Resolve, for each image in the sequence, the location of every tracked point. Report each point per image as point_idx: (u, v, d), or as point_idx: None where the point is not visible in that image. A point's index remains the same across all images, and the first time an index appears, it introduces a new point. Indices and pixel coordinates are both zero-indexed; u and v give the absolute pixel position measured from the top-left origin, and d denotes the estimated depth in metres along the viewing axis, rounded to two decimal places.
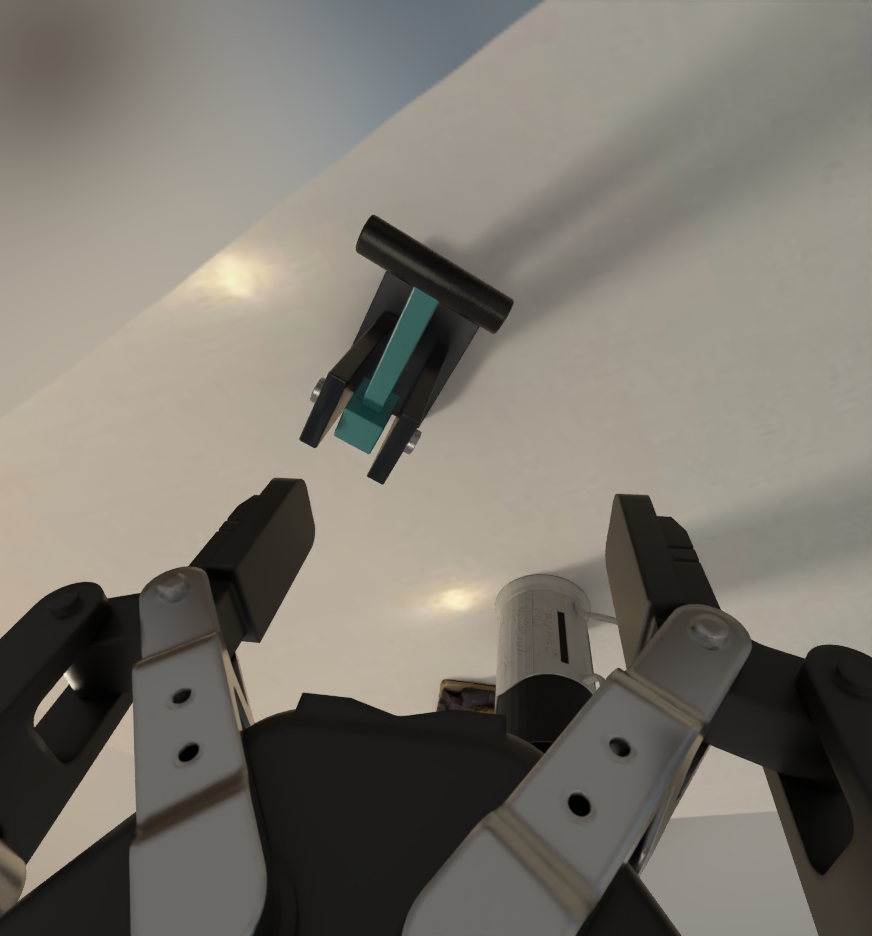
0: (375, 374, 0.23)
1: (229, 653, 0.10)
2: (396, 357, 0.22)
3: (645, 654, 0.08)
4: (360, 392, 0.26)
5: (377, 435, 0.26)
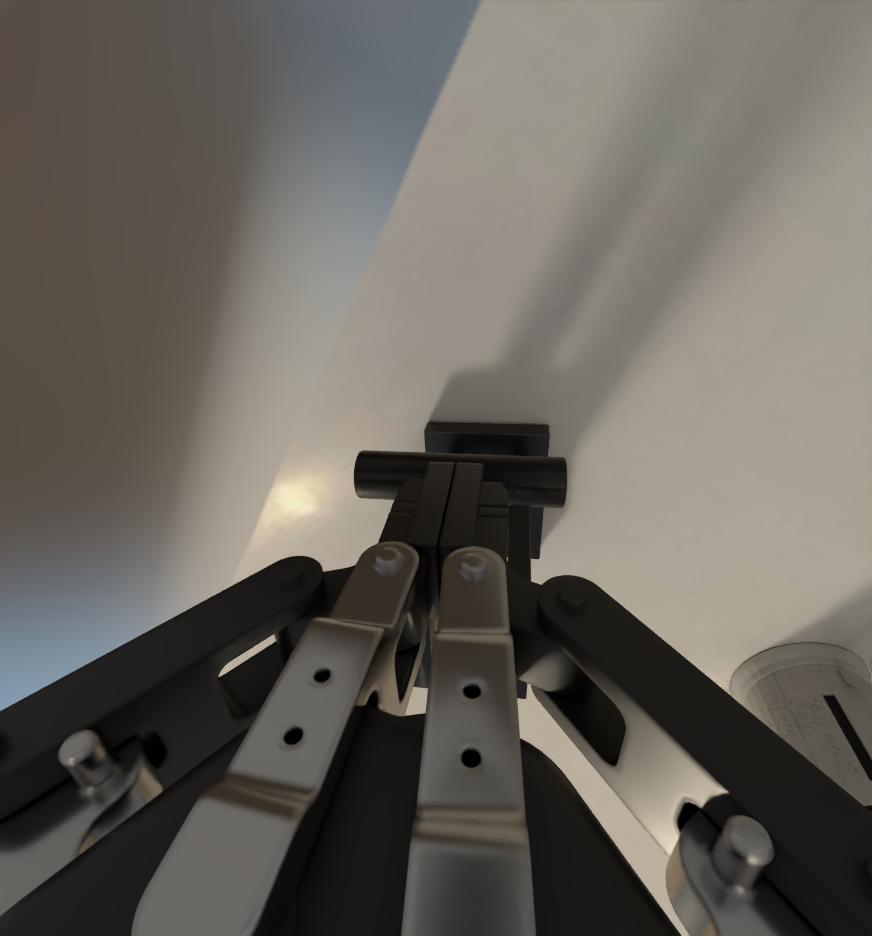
0: None
1: (425, 627, 0.11)
2: None
3: (443, 609, 0.09)
4: None
5: None
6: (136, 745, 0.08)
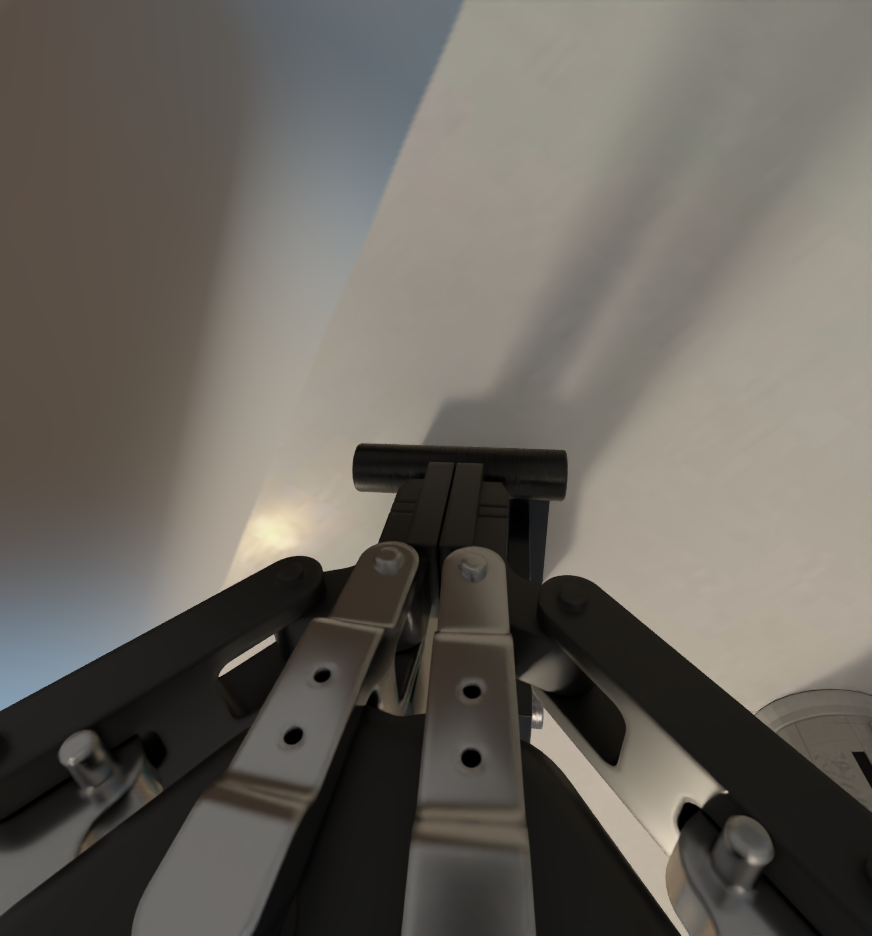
0: None
1: (425, 627, 0.11)
2: None
3: (443, 609, 0.09)
4: None
5: None
6: (136, 745, 0.08)
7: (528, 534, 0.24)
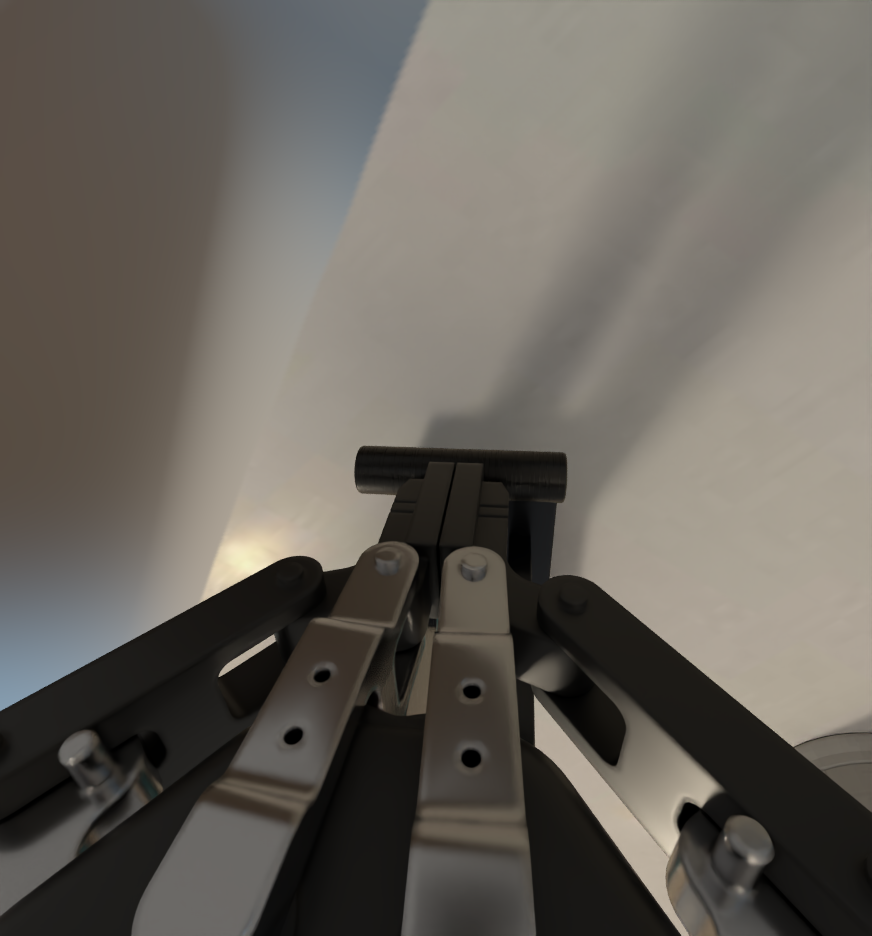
0: None
1: (425, 627, 0.11)
2: None
3: (443, 609, 0.09)
4: None
5: None
6: (136, 745, 0.08)
7: (530, 570, 0.21)
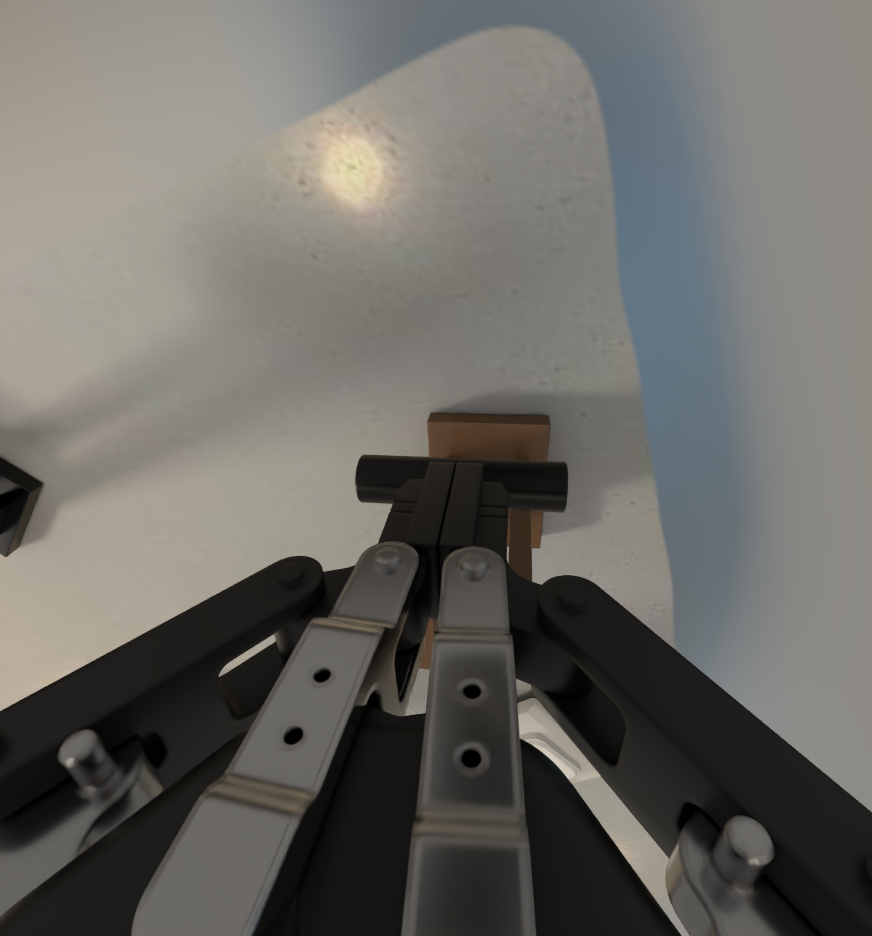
0: None
1: (425, 627, 0.11)
2: None
3: (443, 609, 0.09)
4: None
5: None
6: (136, 745, 0.08)
7: None
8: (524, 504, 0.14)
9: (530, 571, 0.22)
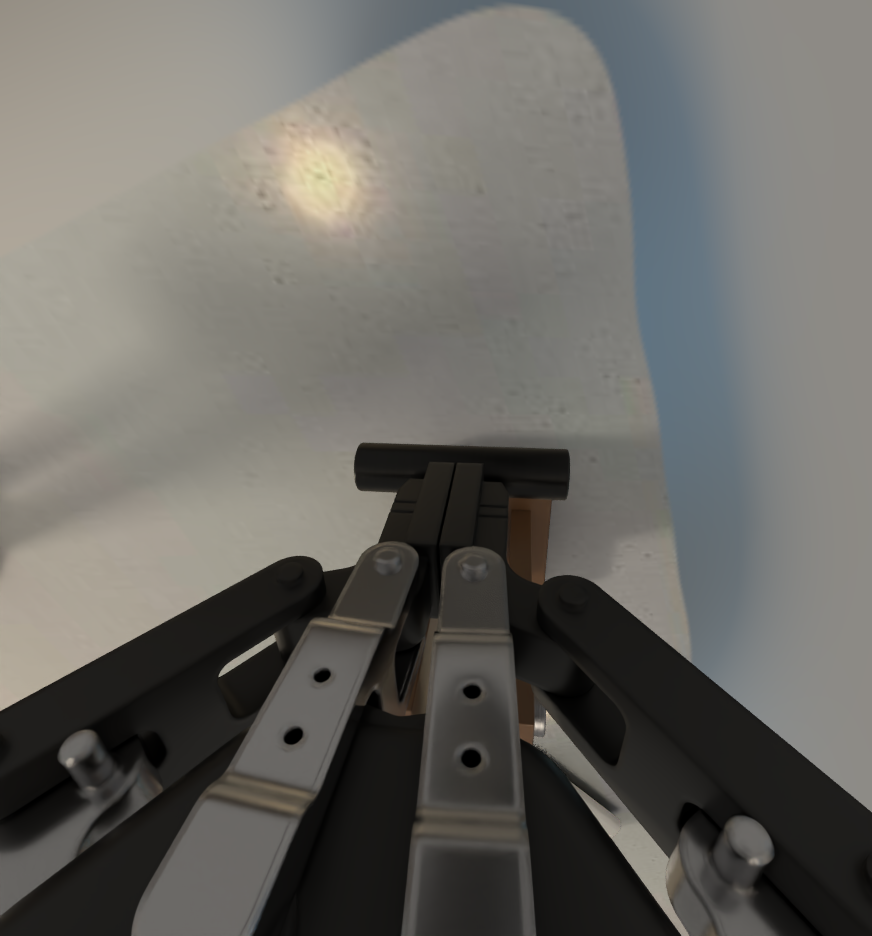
0: None
1: (425, 627, 0.11)
2: None
3: (443, 609, 0.09)
4: None
5: None
6: (136, 745, 0.08)
7: None
8: (526, 482, 0.14)
9: None
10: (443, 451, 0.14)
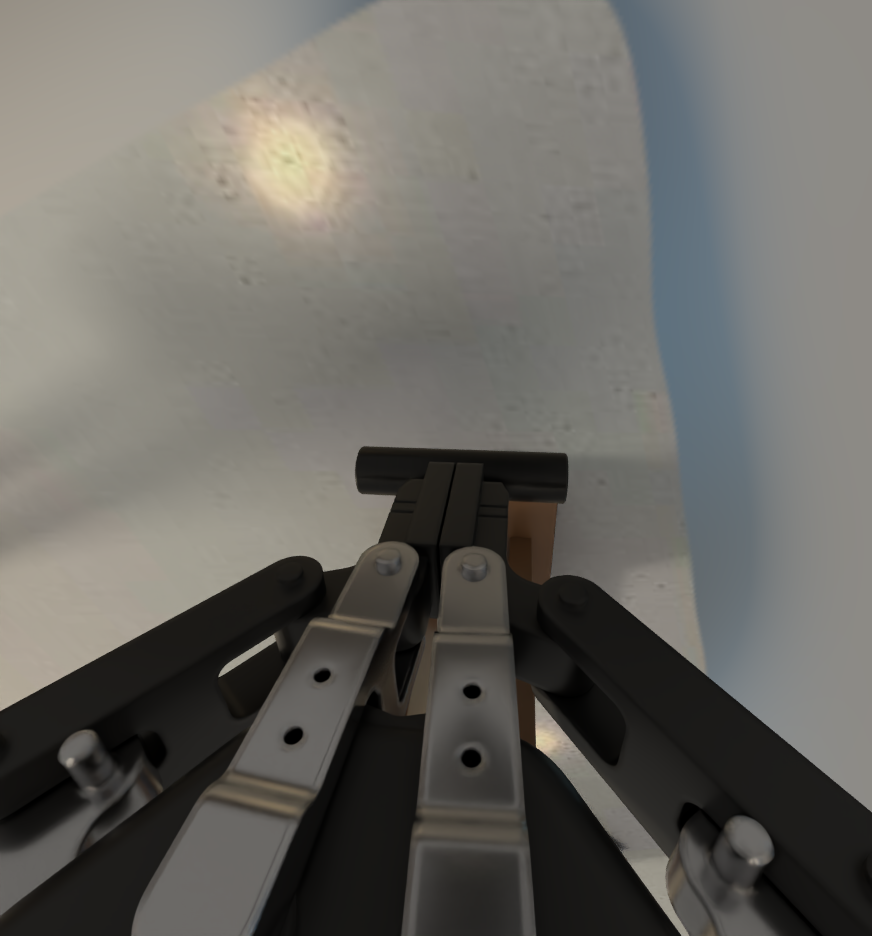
0: None
1: (425, 627, 0.11)
2: None
3: (443, 609, 0.09)
4: None
5: None
6: (136, 745, 0.08)
7: None
8: (525, 478, 0.14)
9: (533, 740, 0.15)
10: (444, 451, 0.15)
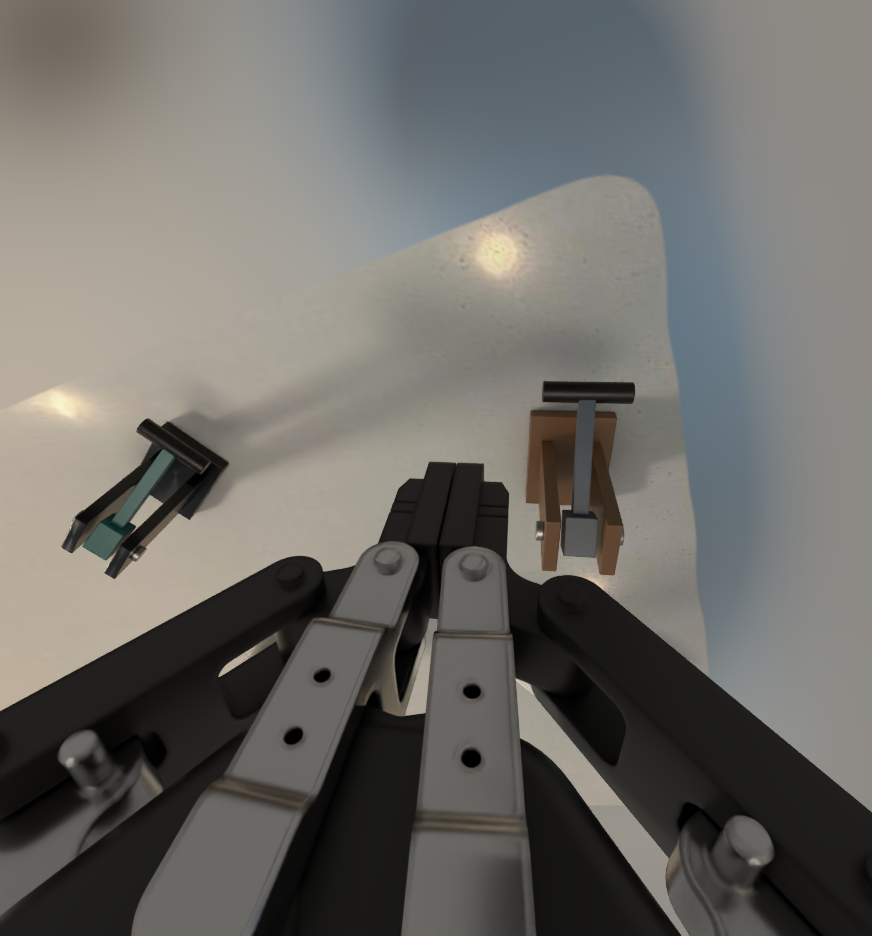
0: (127, 499, 0.43)
1: (425, 627, 0.11)
2: (143, 488, 0.43)
3: (443, 609, 0.09)
4: (110, 517, 0.43)
5: (117, 541, 0.43)
6: (136, 745, 0.08)
7: (192, 489, 0.50)
8: (617, 391, 0.34)
9: (617, 507, 0.35)
10: (581, 382, 0.35)
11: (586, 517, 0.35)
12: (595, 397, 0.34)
